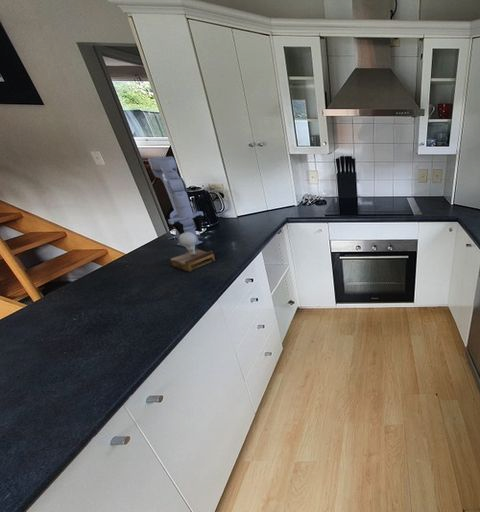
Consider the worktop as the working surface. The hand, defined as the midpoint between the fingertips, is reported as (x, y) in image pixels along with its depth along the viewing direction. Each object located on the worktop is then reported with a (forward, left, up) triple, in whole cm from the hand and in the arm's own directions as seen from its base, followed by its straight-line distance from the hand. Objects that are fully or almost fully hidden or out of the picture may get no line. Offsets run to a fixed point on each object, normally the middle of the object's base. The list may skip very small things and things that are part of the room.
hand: (191, 234), depth 129 cm
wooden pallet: (+8, -7, -10) cm, 15 cm away
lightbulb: (+7, -6, -7) cm, 12 cm away
